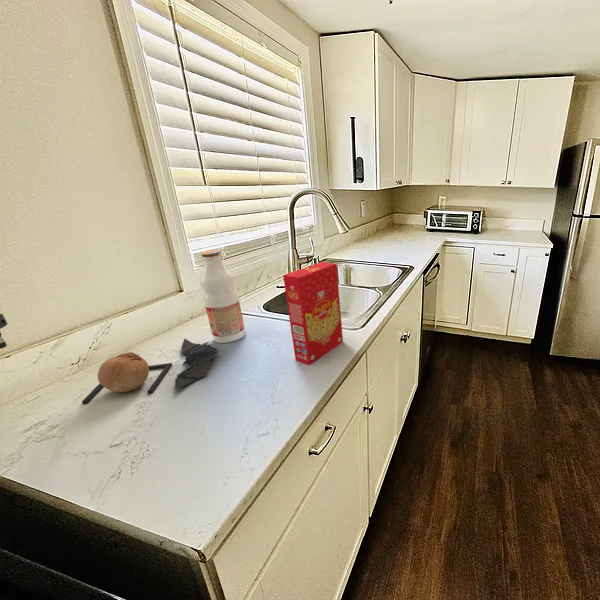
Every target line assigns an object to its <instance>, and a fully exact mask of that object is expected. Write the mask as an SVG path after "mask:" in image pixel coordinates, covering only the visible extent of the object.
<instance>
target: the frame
mask: <svg viewBox="0 0 600 600" xmlns="http://www.w3.org/2000/svg"><path fill="white" fill-rule="evenodd" d="M148 366H149V371H152V370H159V369H162V370H161V372H160V373H159V374H158V375H157V377H156V379H155V380H154V382H153V383H152V384H151V385H150V386H149V389H147V395H152V394H154V392H155V391H156V389H157V388H158V387H159V386H160V384H161V382H162V381H163V379H164V378H165V377H166V375H167V373H169V370H170V369H171V368H172V367H173V363H172V362H167V363H161V364H153V365H148ZM103 388H104V387H103V386H102V385H101V384H100V383H98V385H97V386H96V387H94V388H93V390H91V391H90V393H88V394H87V395H86V396H85V397H84V398H83V400H82V401H81V403H82V405H87V404H89V403H90V402H91V401H92V400H93V399H94V398H95V397H96V396H97V395H98V394H99V393H100V391H102V389H103Z"/></svg>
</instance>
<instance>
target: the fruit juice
mask: <svg viewBox="0 0 600 600" xmlns="http://www.w3.org/2000/svg"><path fill="white" fill-rule="evenodd" d="M201 257H202V259H203V260H204V261H203V271H202V274H201V276H200V277H199V284H200V287H201V289H202V291H203V302H204V307H205V311H206V315H207V318H208V323H209V327H210V332H211V335H212V338H213V340H214V341H215V342H216V343H219V344H228V343H233V342H236V341H238V340H240V339H242V338H244V337H245V335H246V328H245V327H246V326H245V323H244V318H243V314H242V309H241V303H240V297H239V294H238V291H237V289H236V288H235V277H234V275H233V273H232V272H231V271H230V270H229V269H228V268H227V267H226V265H225V264H224V262H223V260H222V258H221V257H222V253H221V251H220V250H218V249H215V250H214V249H212V250H211V249H210V250H206V251H202V252H201Z"/></svg>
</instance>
